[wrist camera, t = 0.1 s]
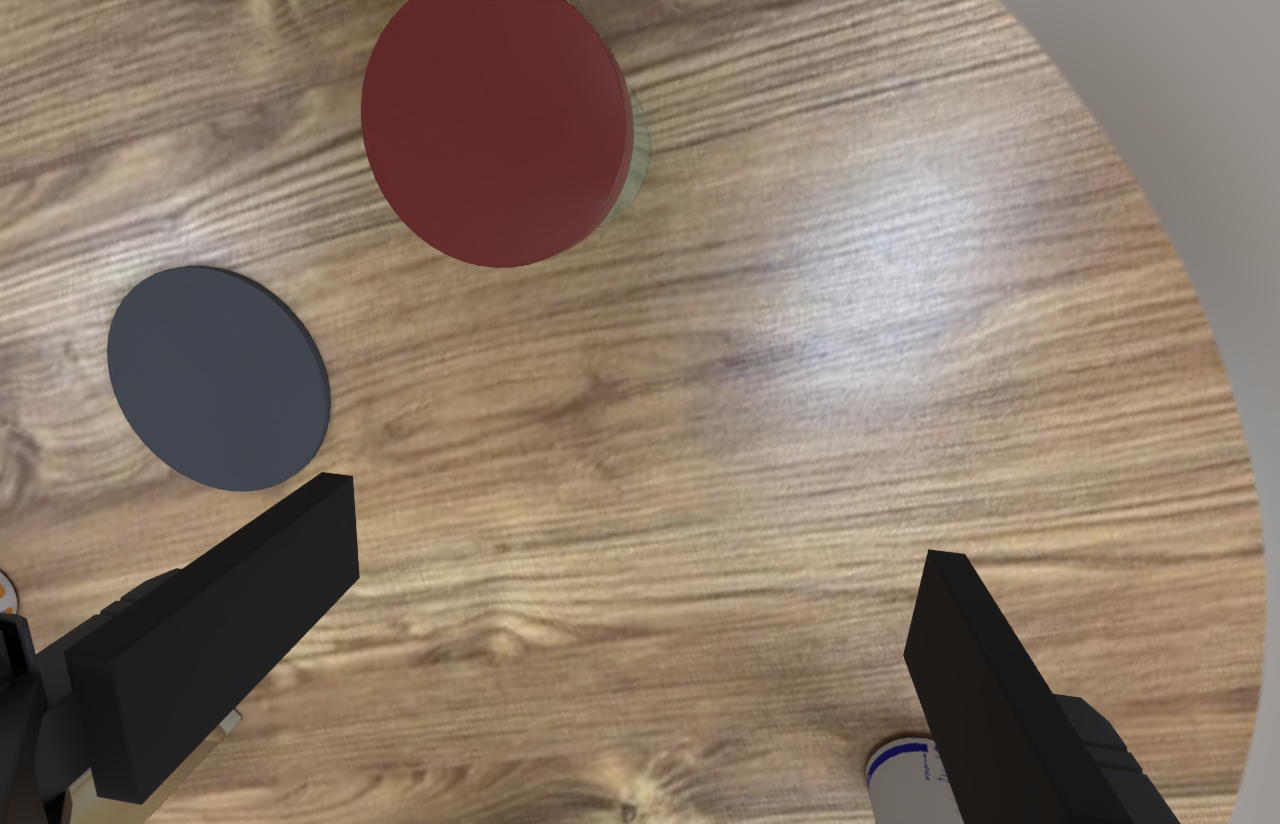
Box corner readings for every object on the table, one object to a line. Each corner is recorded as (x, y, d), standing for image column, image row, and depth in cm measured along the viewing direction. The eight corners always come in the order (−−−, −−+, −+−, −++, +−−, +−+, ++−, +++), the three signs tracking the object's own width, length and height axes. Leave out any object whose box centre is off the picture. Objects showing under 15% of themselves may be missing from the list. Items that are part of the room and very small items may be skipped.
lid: (377, -13, 23) (347, -30, 21) (638, -12, 22) (630, -29, 20) (397, 256, 26) (372, 261, 24) (630, 268, 25) (622, 274, 23)
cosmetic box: (190, 753, 48) (21, 930, 37) (145, 710, 48) (-42, 877, 36) (247, 715, 47) (87, 889, 35) (201, 669, 46) (22, 832, 34)
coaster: (93, 259, 38) (84, 261, 37) (317, 272, 36) (310, 273, 36) (140, 478, 42) (132, 482, 41) (342, 496, 40) (336, 501, 40)
